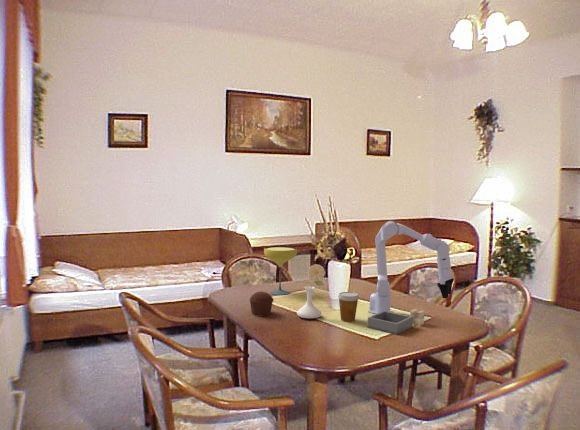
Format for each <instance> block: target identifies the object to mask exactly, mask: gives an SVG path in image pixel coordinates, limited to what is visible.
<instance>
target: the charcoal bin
mask: <svg viewBox="0 0 580 430" xmlns="http://www.w3.org/2000/svg"><path fill="white" fill-rule="evenodd" d="M412 321H413V317H411V316H410V315H406V314H405V315H404V314H402V313H401V314H400V313H396V312H394V313H392V312H387V311H382V312H380V313H377V314H375V313H374V314H373V315H370V316H368V317H367V328H368V329H371V330H375V331H379V332H384V333H388V334H392V335H396V336H397V335H400V334H402V333H403V332H406V331H407V330H409V329H411V328H413V325H412Z"/></svg>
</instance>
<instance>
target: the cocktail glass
mask: <svg viewBox="0 0 580 430" xmlns="http://www.w3.org/2000/svg"><path fill="white" fill-rule="evenodd" d="M263 254H264V256H265V257H266V258H268V259H269V260H270V261H273V262H274V263H276V265H277V267H279V280H278V281H279V282H278V285H279V286H278V289H275V290H271V291H270V292H269V294H270V295H275V296H286V295H289V294H290V291H289V290H286V289H282V283H281V282H282V281H281V280H282V279H281V277H282V275H281V274H282V267H283V265H284V264H285V263H286V262H289V261H291V260H292V259H294V258H295V257H296V256H297V254H298V250H297V247H293V246H288V245H287V246H286V245H271V246H266V247H264V249H263Z"/></svg>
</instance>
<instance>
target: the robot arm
mask: <svg viewBox="0 0 580 430" xmlns="http://www.w3.org/2000/svg"><path fill="white" fill-rule="evenodd" d="M396 235H406V236H408V237H410V238H412V239H415V240H417V241H419V242H420V243H419V244H420V245H422V246H423V247H425V248H428V249H430V250H432V251H436V252H437V253H436V255H437V257H436V261H437V272H438V274H437V275H438V278H437V279H438V280H439V282H437V285H436V286H437V287H438V288H439V291H440V293H441V297H442V299H449V295H451V294H452V290H453V289H452V288H453V283H454V281H455V276H454V275H453V274H452V265H451V257H450V251H451V247H450V246H449V244H448V243H447V242H445V240H442V239H441V238H437V237H434V236H433V234H431V233H424V234H421V232H417V231H416V230H414V229H413V228H410V227H409V226H407V225H404V224H401V223H398V222H395V221H393V220H389V221H386V222H385V223H384V224H382V226H381V227H380V229H379V231H378V233H377V234H376V236H375V238H374V239H375V240H374V241H375V257H376V268H377V269H376V270H377V271H376V272H377V282H376V292H373V293H371V295H370V297H369V311H368V313H371V314H374V315H375V314H377V313H380V312H382V311H387V312H392V313H395V312H394V310H391V299H392V297H391V295H392V294H391V293H390V292H391V284H390V283H391V282H389V280H388V269H387V268H388V266H387V254H386V253H387V252H386V242H387V241H388V240H389V239H390V238H392V237H393V236H396ZM452 275H453V276H452Z"/></svg>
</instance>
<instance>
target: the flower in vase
mask: <svg viewBox="0 0 580 430" xmlns="http://www.w3.org/2000/svg"><path fill="white" fill-rule="evenodd" d="M307 275H308V278H309V279H310V280H312V281H314V282H313V283H312V284H311V283H310V282H308V281H306V280H304V282H306V283H307V284H308V285H309V286H304V287H303V288H304V289H305V292H306V302H305V304H303V306H301V307H300V308H299V309H298V310H297V312H296V314H297V316H298V317H300V318H303V319H309V320H310V319H317V318H320V317H321V316H322V311H321V310H320V309H319V308H318V307H317V306H316V305H314V303H313V293H314V290H315V289H316V287H314V285H316V286H319V287H320V286H324V285H325V284H324V282H323V281H322V280H323V279H324V277H325V275H326V270H325V268H324V267H323V266H322V265H320V264H318V263H315V264H312V265H310V266H309V268H308V271H307ZM310 285H311V286H310Z"/></svg>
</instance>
